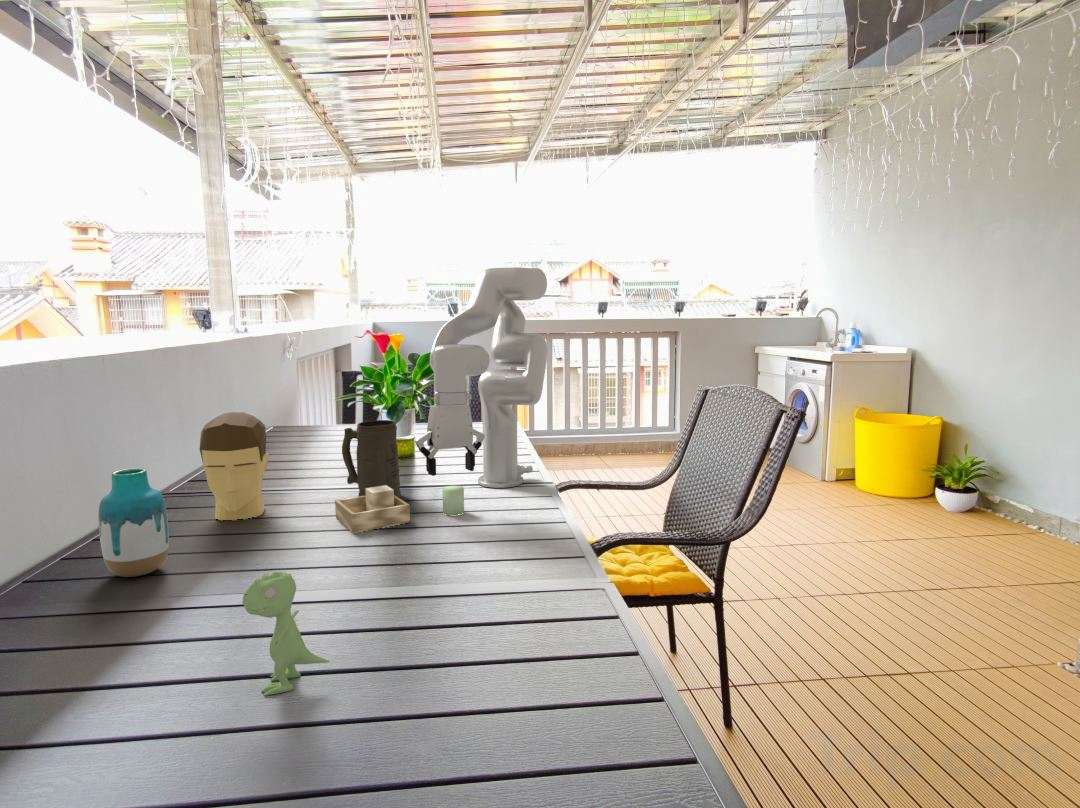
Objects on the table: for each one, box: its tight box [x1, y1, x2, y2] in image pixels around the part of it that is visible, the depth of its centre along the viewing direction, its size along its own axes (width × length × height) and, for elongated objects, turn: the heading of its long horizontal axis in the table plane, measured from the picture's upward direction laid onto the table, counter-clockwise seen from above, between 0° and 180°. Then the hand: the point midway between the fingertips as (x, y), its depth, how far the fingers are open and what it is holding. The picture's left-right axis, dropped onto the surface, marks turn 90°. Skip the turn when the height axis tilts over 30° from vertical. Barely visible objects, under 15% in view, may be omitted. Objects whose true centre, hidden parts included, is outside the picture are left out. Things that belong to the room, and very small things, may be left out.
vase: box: [98, 468, 170, 578], centre depth 119 cm, size 11×11×19 cm
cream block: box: [365, 485, 394, 511], centre depth 153 cm, size 5×5×6 cm
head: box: [199, 411, 270, 521], centre depth 152 cm, size 14×21×25 cm, turn 17°
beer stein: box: [341, 419, 402, 498], centre depth 168 cm, size 15×11×20 cm
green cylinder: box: [441, 485, 465, 515], centre depth 156 cm, size 5×5×6 cm
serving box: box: [334, 495, 411, 535], centre depth 150 cm, size 13×13×4 cm
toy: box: [242, 571, 331, 697], centre depth 84 cm, size 7×8×15 cm
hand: (451, 472), depth 154 cm, fingers open, 9 cm apart
